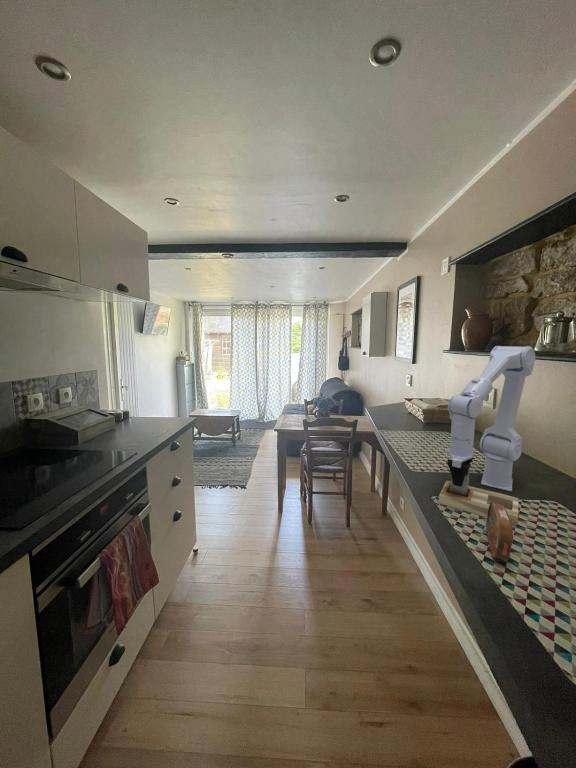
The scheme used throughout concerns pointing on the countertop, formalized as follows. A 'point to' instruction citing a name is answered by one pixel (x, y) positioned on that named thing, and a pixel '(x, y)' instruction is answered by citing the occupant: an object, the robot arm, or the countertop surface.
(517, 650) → the countertop surface
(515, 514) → the rail plate
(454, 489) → the grey rectangular block
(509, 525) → the tin
